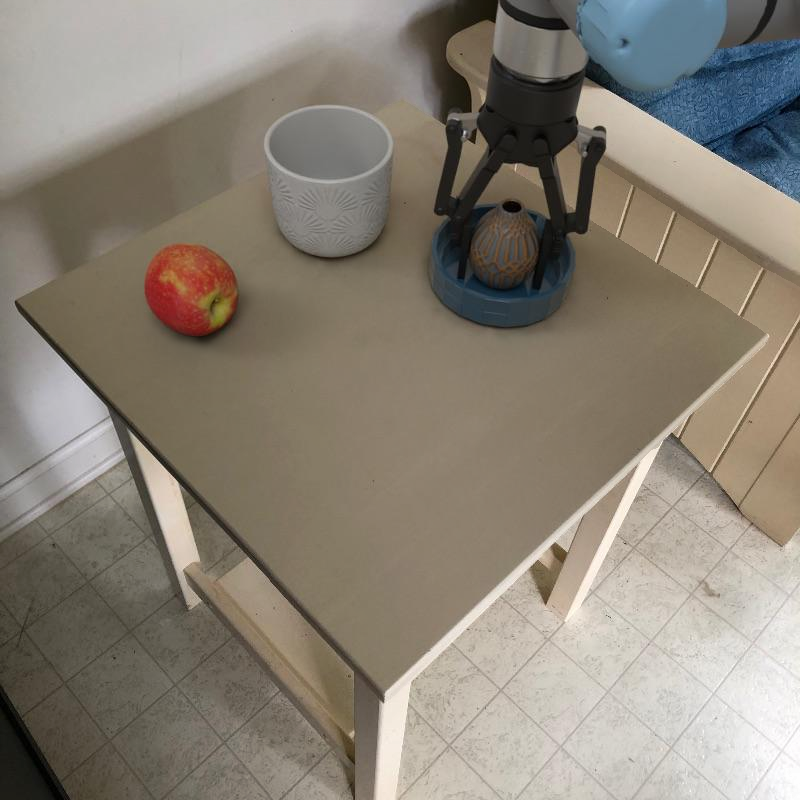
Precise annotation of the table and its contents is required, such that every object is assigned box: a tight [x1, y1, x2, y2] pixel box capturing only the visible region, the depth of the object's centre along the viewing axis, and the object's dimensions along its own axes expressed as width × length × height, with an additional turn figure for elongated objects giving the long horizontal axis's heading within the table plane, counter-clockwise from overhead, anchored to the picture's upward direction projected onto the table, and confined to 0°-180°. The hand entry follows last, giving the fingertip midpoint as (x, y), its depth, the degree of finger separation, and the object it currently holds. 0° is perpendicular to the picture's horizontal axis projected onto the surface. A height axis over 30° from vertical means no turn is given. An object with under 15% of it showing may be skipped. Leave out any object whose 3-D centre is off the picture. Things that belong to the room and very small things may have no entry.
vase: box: [468, 197, 541, 289], centre depth 79 cm, size 7×7×9 cm
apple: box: [143, 242, 239, 337], centre depth 76 cm, size 8×8×8 cm
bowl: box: [428, 202, 577, 328], centre depth 82 cm, size 14×14×4 cm
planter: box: [263, 104, 395, 258], centre depth 83 cm, size 12×12×11 cm
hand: (499, 273), depth 83 cm, fingers closed on vase, 7 cm apart
